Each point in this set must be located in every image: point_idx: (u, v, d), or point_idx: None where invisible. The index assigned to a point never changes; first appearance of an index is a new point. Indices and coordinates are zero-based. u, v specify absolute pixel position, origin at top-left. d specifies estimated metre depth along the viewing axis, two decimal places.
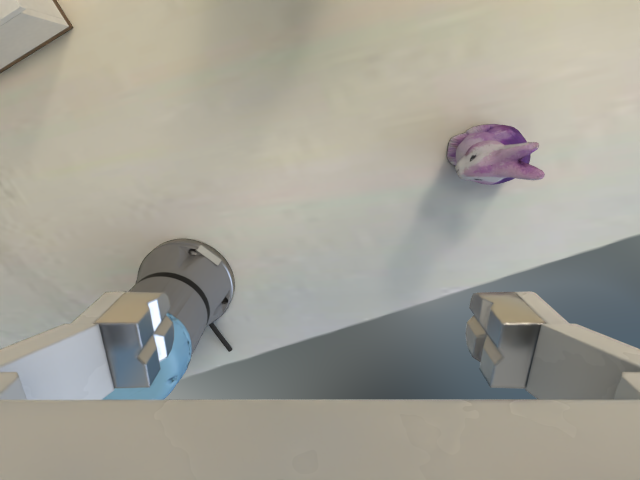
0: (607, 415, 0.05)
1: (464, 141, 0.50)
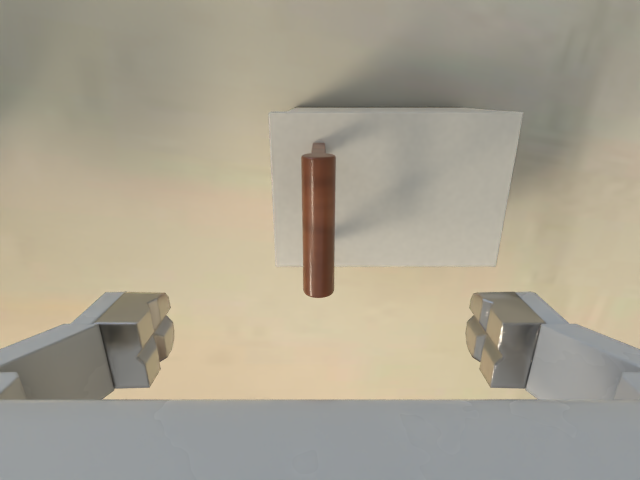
0: (607, 415, 0.05)
1: None
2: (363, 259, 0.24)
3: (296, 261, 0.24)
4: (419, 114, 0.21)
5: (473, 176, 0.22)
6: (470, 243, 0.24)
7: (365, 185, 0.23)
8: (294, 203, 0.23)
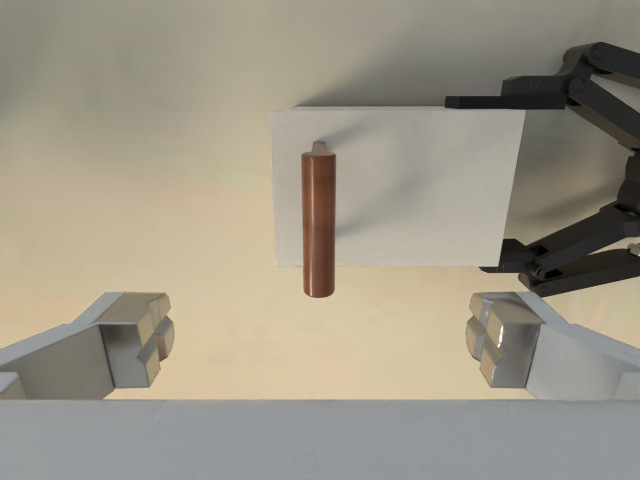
0: (607, 415, 0.05)
1: None
2: (364, 259, 0.24)
3: (297, 260, 0.24)
4: (420, 112, 0.21)
5: (475, 175, 0.22)
6: (472, 242, 0.24)
7: (366, 185, 0.22)
8: (295, 202, 0.23)
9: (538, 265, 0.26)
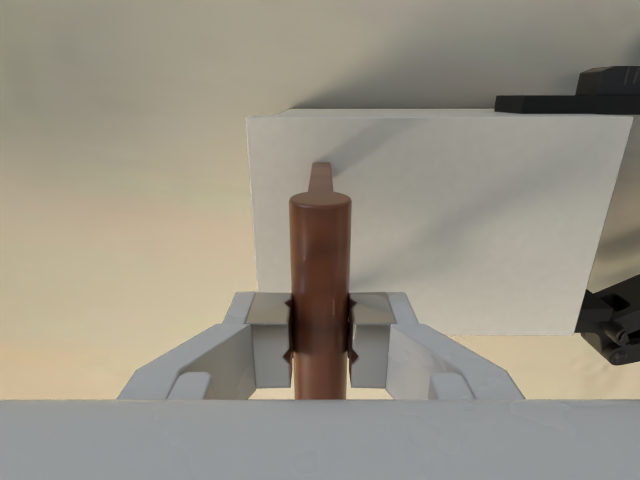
0: (607, 415, 0.05)
1: None
2: None
3: None
4: (474, 120, 0.14)
5: (549, 211, 0.15)
6: (539, 304, 0.17)
7: (389, 224, 0.15)
8: (285, 249, 0.16)
9: (619, 326, 0.19)
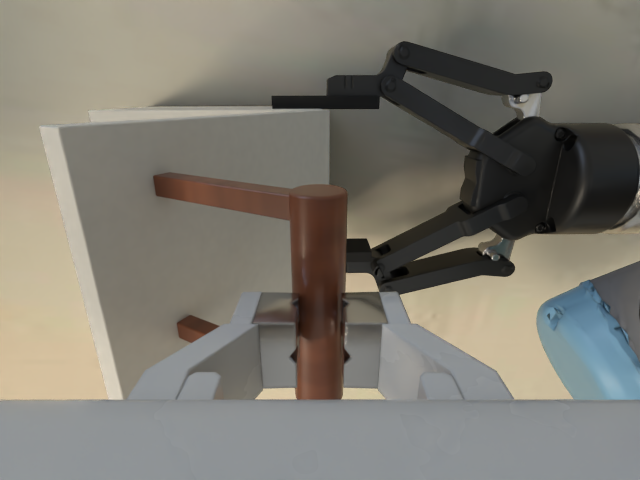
0: (607, 415, 0.05)
1: None
2: None
3: None
4: (264, 116, 0.16)
5: (308, 181, 0.20)
6: None
7: (227, 223, 0.16)
8: (140, 289, 0.13)
9: (376, 265, 0.26)
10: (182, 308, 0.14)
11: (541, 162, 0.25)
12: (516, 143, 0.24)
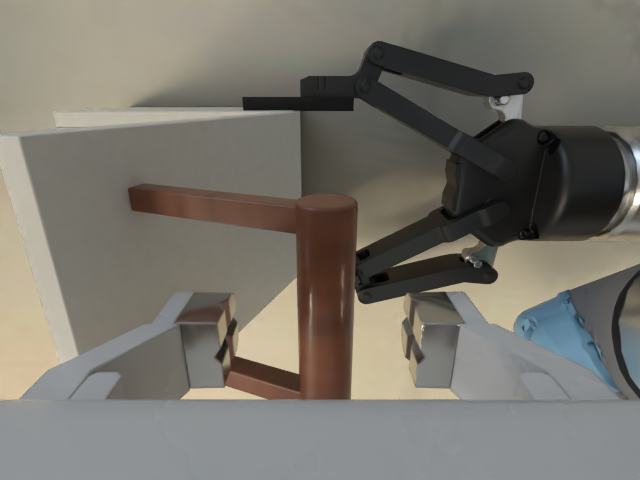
0: (607, 415, 0.05)
1: None
2: None
3: None
4: (239, 120, 0.15)
5: (282, 186, 0.20)
6: (289, 257, 0.22)
7: (206, 235, 0.14)
8: (117, 316, 0.11)
9: None
10: None
11: (523, 167, 0.24)
12: (497, 146, 0.23)
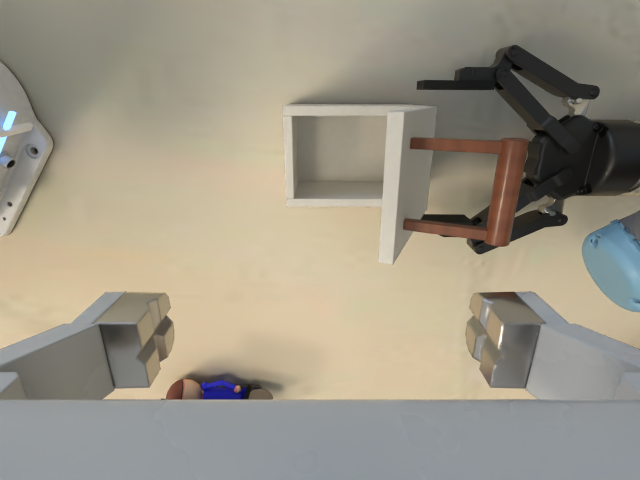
0: (607, 415, 0.05)
1: None
2: (410, 231, 0.29)
3: (398, 251, 0.26)
4: (427, 109, 0.29)
5: (429, 150, 0.33)
6: (425, 197, 0.35)
7: (415, 169, 0.28)
8: (402, 197, 0.24)
9: None
10: (405, 213, 0.26)
11: (582, 145, 0.37)
12: (566, 130, 0.36)
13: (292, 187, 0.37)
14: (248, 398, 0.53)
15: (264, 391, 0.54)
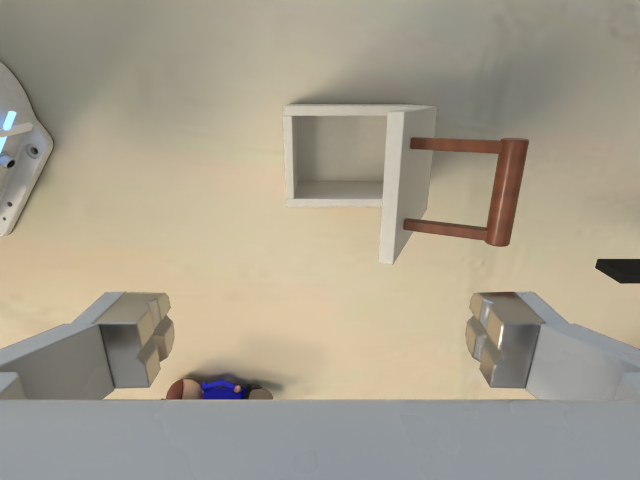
0: (607, 415, 0.05)
1: None
2: (410, 231, 0.29)
3: (398, 251, 0.26)
4: (427, 109, 0.29)
5: (429, 150, 0.33)
6: (425, 197, 0.35)
7: (415, 169, 0.28)
8: (402, 197, 0.24)
9: None
10: (405, 213, 0.26)
11: None
12: None
13: (292, 187, 0.37)
14: (248, 398, 0.53)
15: (264, 391, 0.54)
